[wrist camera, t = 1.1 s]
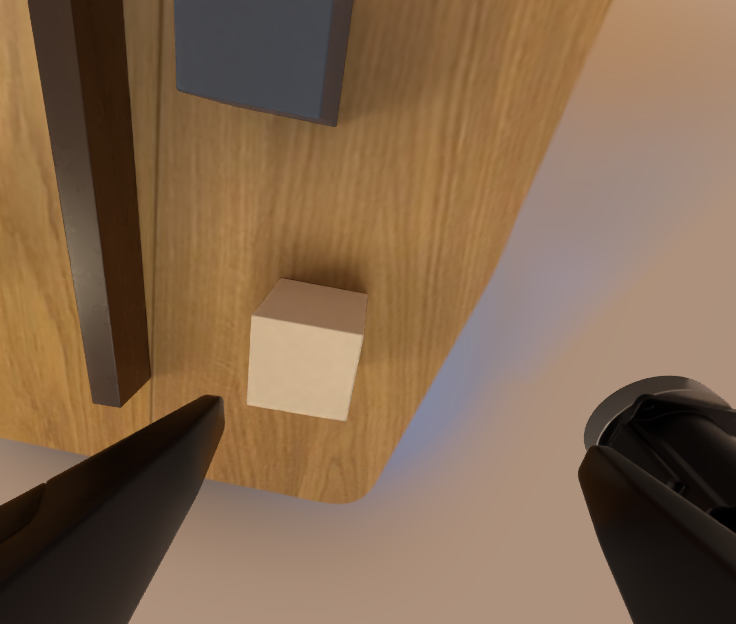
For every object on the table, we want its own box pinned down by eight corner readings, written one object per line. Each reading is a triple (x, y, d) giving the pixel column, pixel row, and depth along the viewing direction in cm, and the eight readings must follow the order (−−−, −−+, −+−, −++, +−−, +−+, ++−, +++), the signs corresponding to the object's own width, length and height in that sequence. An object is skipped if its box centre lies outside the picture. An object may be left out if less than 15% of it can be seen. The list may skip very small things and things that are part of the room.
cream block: (368, 293, 21) (364, 335, 16) (353, 367, 23) (346, 422, 18) (280, 277, 20) (251, 314, 16) (273, 353, 22) (246, 405, 18)
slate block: (354, -6, 15) (342, -71, 11) (336, 127, 17) (320, 120, 13) (234, -32, 15) (169, -111, 10) (230, 105, 17) (175, 90, 12)
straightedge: (105, -225, 13) (30, -325, 10) (151, 378, 24) (120, 408, 21) (59, -236, 13) (-29, -340, 10) (126, 373, 23) (92, 403, 21)
